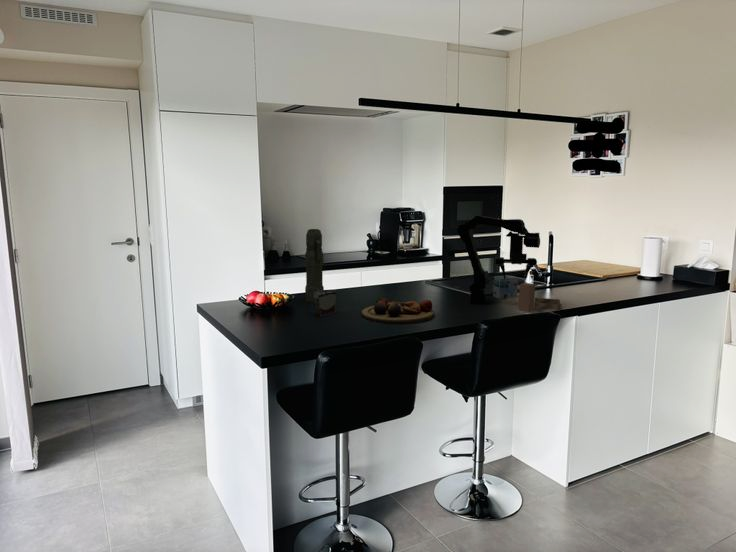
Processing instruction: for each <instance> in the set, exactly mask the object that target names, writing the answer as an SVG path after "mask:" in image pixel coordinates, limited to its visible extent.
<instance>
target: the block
mask: <svg viewBox="0 0 736 552" xmlns="http://www.w3.org/2000/svg"><path fill="white" fill-rule="evenodd" d="M518 289H519V290H518V305H517V306H518V307H517V308H518V310H520V311H525V312H530V311H533V310H534V309H535V298H536V297H535V293H536V283H535V284H534V283H528V282H524V283H519V286H518Z"/></svg>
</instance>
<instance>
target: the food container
mask: <svg viewBox="0 0 736 552" xmlns="http://www.w3.org/2000/svg"><path fill="white" fill-rule="evenodd" d="M337 296H338V291H337V289H324V290H319V291H316V292H315V293H314V298H315V301H316V303H315V309H316V310H315V311H316V316H318V317H323V316H327V315H330V314H334V313H336V305H337Z"/></svg>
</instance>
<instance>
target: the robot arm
mask: <svg viewBox="0 0 736 552" xmlns="http://www.w3.org/2000/svg"><path fill="white" fill-rule="evenodd" d="M479 225H485V226H491V227H497V228H503V229H505V230H507V231H508V233H507V234H506V235H505V236H506V237H508V238H510V239H509V240H510V242H509V258H505V257H504V256H503V257H501V256H499V257H498V256H496V257H495V258H494V264H495V265H497V266H498V267H499V268H500V269H501V272H502V276H504V279H505V276H506V271H505V270H506V268H505V264H512V265H522V264H524V265H525V264H526V265H525V270H524V271H525V272H524V277H523V278H524V281H526V279H527V277H528V275H529V272H530V270H531V269H532V268H534V267H535V266H537V265H538V260H537V259H536V258H535V257H527V255H528V254H527V253H523V250H524V249H523V248H524V246H525V247H526V248H535V249H536V248H540V246H541V238H540V237H541V236H540V232H529V230H528V229H527V227H526V224H525V222H524V220H522V219H521V218H515V219H514V218H512V219H509V218H508V219H503V218H496V217H492V216H491V217H490V216H485V215H482V214H479V215H475V216H474V217H473V218H471V219H470V220H468V221H467V222H465V223H462V224H460V225H458V227H457V229H456V232H457V235H458V236H459V239H460V240H462V242H463V244H464V246H465V249H466V253H467V255H468V258H469V261H470V264H471V267H472V270H473V283H472V284H471V285H470V286H468V287H469V290H470V299H469V300H470V301H469V304H480V305H481V304H482V305H484V304H485V303H486V293H485V289H486V287H488V286H489V283H490V281H491V280H490V279H491V277H490V274H489V270H484V268H483V266H482V262H481V260H480V256H479V253H478V250H477V247H476V244H475V241H474V229H476V228H477V227H479Z"/></svg>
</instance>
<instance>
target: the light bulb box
mask: <svg viewBox="0 0 736 552" xmlns="http://www.w3.org/2000/svg"><path fill="white" fill-rule="evenodd" d="M493 277H494V278H493V290H492V291H493V295H492V296H493V298H496V299H498V300H505V299H507V298H518V293H519V290H518V289H519V277H517V276H515V275H505V279H504V276H503V275H494V276H493Z"/></svg>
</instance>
